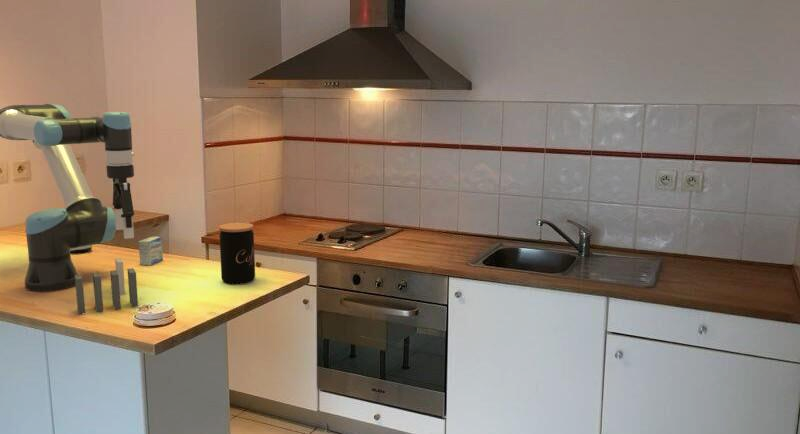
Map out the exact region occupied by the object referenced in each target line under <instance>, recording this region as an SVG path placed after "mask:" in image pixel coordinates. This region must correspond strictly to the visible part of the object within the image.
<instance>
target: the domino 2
mask: <svg viewBox="0 0 800 434" xmlns="http://www.w3.org/2000/svg"><path fill="white" fill-rule="evenodd" d="M92 281H93V283H92V285H93V294H94V305H95V310H96V312H97V313H99V312H104V303H103V291H102V277H101V273H100V272H99V271H97V272H92Z"/></svg>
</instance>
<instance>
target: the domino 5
mask: <svg viewBox="0 0 800 434" xmlns="http://www.w3.org/2000/svg"><path fill="white" fill-rule="evenodd" d="M126 271H127V283H128V296H129V304H130V305H131V307H132V308H135V307H139V298H138V285H137V284H138V283H137V272H136V270H135V268H134V267H131V268H127V270H126Z"/></svg>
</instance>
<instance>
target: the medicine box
mask: <svg viewBox="0 0 800 434" xmlns="http://www.w3.org/2000/svg"><path fill="white" fill-rule="evenodd" d="M162 243H163V242H162V236H150V237H147V238H144V239H141V240H139V241H138V243H137V244H138V255H139V265H140V266H150V265H152V266H154V265H155V263H156V264H158V263H160V262H162V261H163V260H164V259H163V258H164V257H163V244H162ZM157 262H158V263H157ZM153 264H154V265H153Z"/></svg>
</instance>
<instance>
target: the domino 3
mask: <svg viewBox="0 0 800 434" xmlns="http://www.w3.org/2000/svg"><path fill="white" fill-rule="evenodd" d="M114 261H115V262H114V263H115V270H116V271H117V273H118V276H119V289H120V296H121V295H126V286H125V275H124V274H125V273H124V272H125V271H124V262H123V260H122V258H121V257H120V258H119V257H118V258H115V259H114Z"/></svg>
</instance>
